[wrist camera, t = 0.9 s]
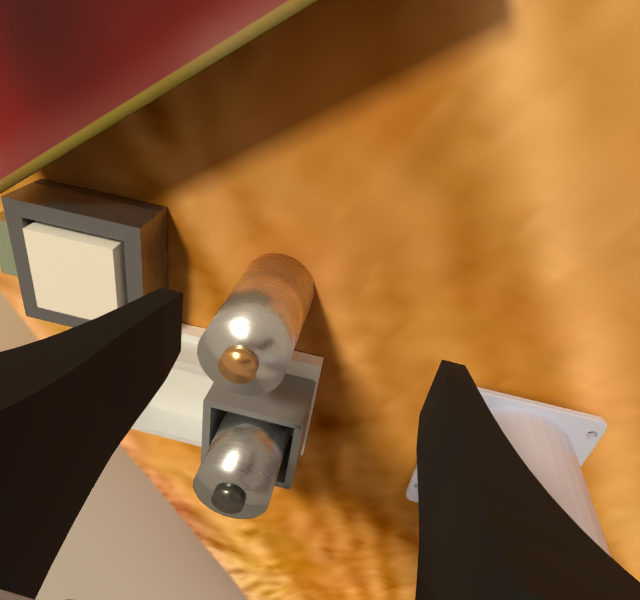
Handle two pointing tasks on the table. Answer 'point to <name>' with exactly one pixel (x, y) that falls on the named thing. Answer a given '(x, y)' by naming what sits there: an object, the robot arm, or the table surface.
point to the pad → (75, 270)
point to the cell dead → (241, 466)
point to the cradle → (92, 217)
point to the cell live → (258, 326)
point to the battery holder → (231, 404)
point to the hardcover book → (106, 64)
